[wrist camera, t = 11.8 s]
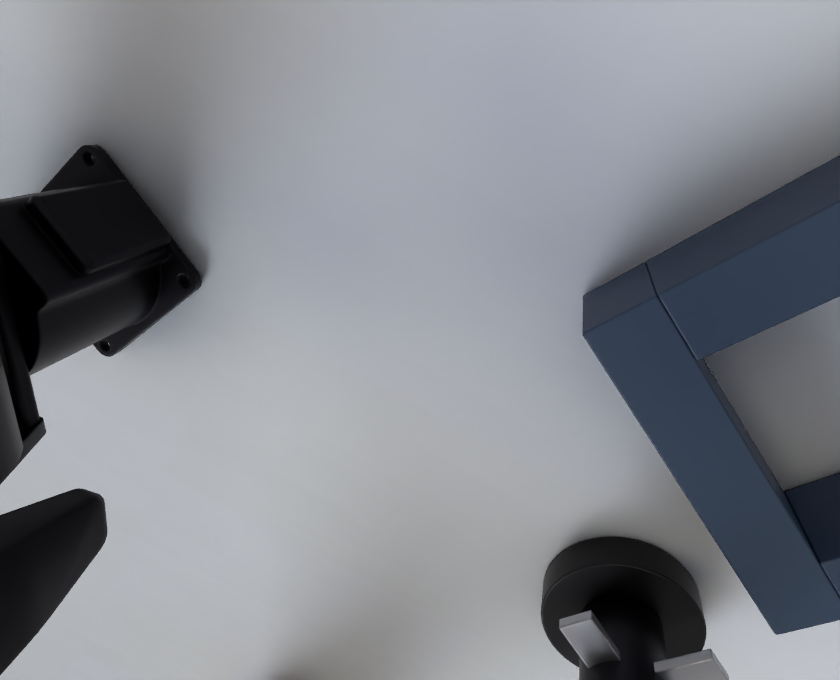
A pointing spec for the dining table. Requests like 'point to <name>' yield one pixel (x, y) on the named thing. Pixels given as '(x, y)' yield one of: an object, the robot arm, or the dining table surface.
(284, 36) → the dining table surface
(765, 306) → the blue square frame
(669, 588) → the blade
